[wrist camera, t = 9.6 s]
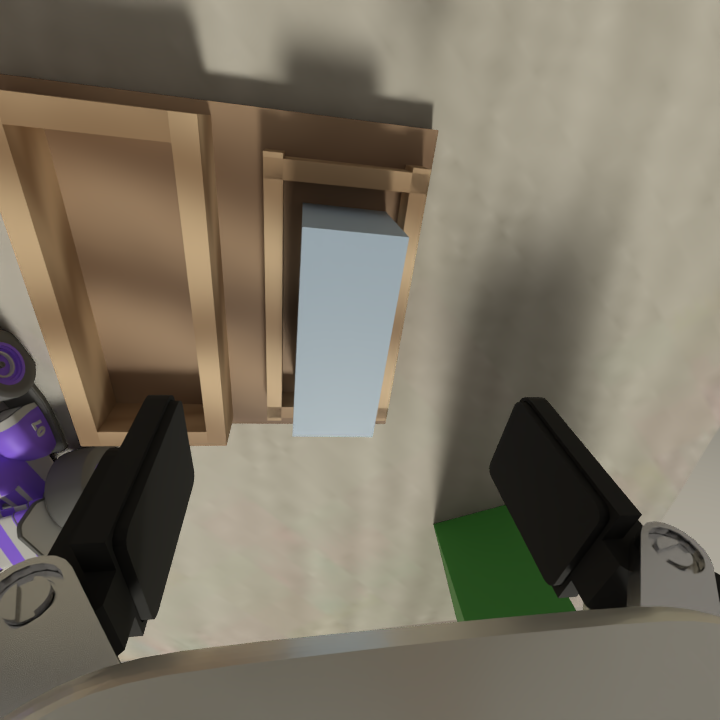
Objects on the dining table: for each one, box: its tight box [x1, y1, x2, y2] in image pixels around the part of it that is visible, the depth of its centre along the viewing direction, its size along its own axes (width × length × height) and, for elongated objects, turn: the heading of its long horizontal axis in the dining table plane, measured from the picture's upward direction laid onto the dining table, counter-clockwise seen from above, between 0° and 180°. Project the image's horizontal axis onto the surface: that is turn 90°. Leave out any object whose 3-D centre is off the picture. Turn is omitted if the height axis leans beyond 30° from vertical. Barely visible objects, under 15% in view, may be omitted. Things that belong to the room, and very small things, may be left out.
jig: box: [0, 74, 438, 446], centre depth 20 cm, size 17×18×4 cm
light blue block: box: [293, 203, 409, 437], centre depth 19 cm, size 10×4×5 cm, turn 173°
